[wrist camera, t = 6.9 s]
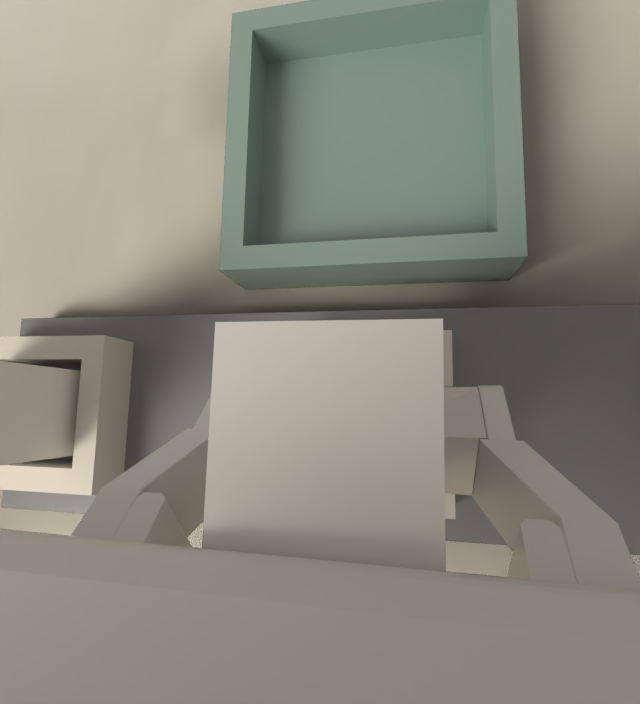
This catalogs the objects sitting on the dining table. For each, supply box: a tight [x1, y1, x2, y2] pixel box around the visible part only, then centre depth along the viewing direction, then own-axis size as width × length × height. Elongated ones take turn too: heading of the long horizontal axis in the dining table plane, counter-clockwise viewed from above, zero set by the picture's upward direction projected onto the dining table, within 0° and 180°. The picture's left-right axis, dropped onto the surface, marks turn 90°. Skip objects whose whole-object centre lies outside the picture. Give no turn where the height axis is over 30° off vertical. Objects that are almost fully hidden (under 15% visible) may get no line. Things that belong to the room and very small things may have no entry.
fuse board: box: [0, 304, 640, 555], centre depth 18 cm, size 9×34×4 cm, turn 89°
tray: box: [219, 0, 528, 289], centre depth 20 cm, size 12×12×3 cm
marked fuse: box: [202, 319, 446, 571], centre depth 11 cm, size 4×4×9 cm
